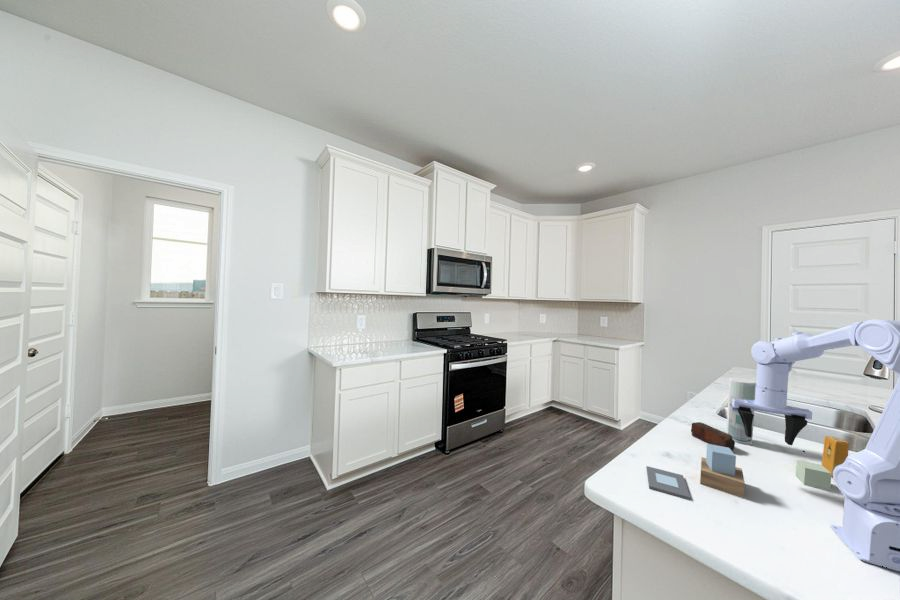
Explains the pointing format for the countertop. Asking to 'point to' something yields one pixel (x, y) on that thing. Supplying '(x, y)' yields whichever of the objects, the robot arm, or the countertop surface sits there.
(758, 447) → the countertop surface
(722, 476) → the base block
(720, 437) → the brick
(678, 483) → the card
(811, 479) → the sage block
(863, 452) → the robot arm
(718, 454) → the slate block
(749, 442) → the spray can
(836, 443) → the supplement box
